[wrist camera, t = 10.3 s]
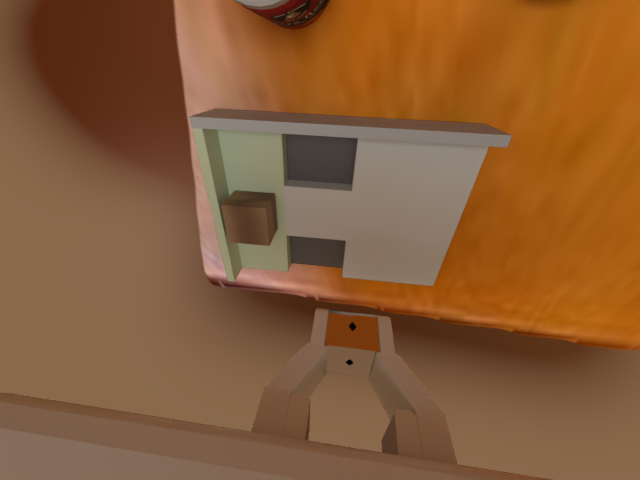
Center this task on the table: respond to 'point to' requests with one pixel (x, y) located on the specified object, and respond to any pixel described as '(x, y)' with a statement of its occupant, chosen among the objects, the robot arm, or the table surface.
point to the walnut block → (250, 217)
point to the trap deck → (344, 188)
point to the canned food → (286, 11)
